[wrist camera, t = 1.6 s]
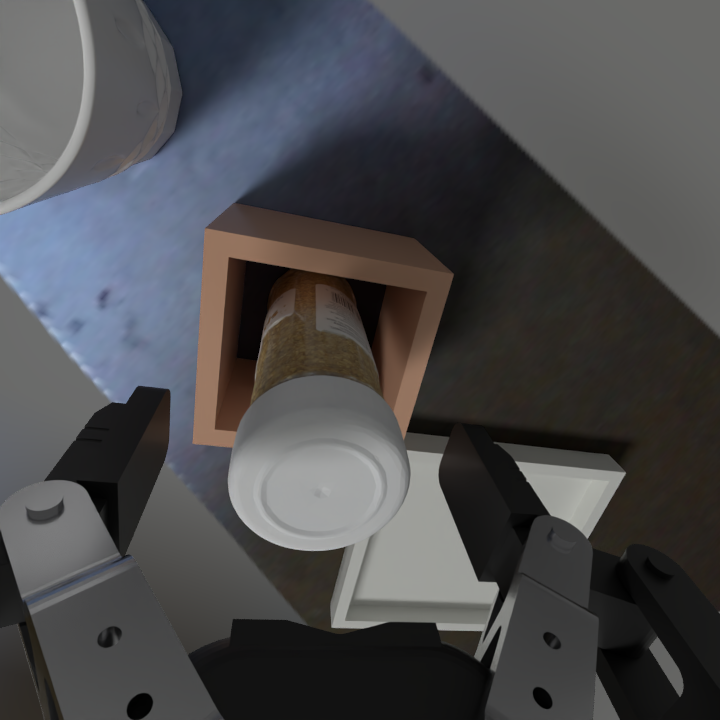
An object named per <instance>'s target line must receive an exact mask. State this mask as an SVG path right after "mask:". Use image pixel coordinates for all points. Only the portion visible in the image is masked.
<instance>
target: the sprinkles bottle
mask: <svg viewBox="0 0 720 720" xmlns="http://www.w3.org/2000/svg"><path fill="white" fill-rule="evenodd" d="M267 311H268V313H267V315H266V319H265V322H264V328H263V334H262V339H261V345H260V350H259V355H258V360H257V365H256V372H255V385H254V388H253V393H252V397H251V404H250V407H249V408H248V410H247V411H246V413H245V414H244V416H243V418H242V419H241V421H240V424H239V427H238V429H237V433H236V437H235V441H234V445H233V449H232V455H231V461H230V466H229V474H228V489H229V495H230V499H231V502H232V504H233V507H234V509H235V510H236V512H237V514H238V515H239V517H240V518H241V519H242V521H243V522H244V523H245V524H246V525H247V526H248V527H249V528H250V529H251V530H252V531H254V532H255V533H256V534H258V535H259V536H260V537H262V538H264V539H266V540H268V541H270V542H272V543H274V544H277V545H280V546H283V547H287V548H291V549H296V550H306V551H324V550H332V549H337V548H342V547H345V546H349V545H352V544H355V543H357V542H360V541H362V540H364V539H366V538H368V537H370V536H371V535H373V534H374V533H376V532H377V531H379V530H380V529H382V528H383V527H384V526H385V525H386V524H387V523H388V522H389V521H390V520H392V518H393V517H394V516H395V515H396V513H397V512H398V511H399V509H400V507H401V506H402V504H403V503H404V500H405V498H406V495H407V492H408V489H409V484H410V476H411V471H410V463H409V458H408V454H407V450H406V446H405V443H404V440H403V436H402V433H401V430H400V427H399V424H398V421H397V418H396V416H395V414H394V412H393V411H392V409H391V408H390V406H389V405H388V404H387V403H386V401H385V400H384V397H383V394H382V391H381V388H380V384H379V375H378V371H377V368H376V364H375V361H374V358H373V355H372V352H371V349H370V346H369V343H368V339H367V336H366V333H365V330H364V327H363V324H362V321H361V318H360V315H359V312H358V310H357V305H356V298H355V296H354V293H353V290H352V289H351V287H350V285H349V283H348V282H347V280H346V279H345V278H344V277H340V276H334V275H328V274H323V273H317V272H311V271H305V270H300V269H294V268H292V269H290V270H289V271H287V272H286V273H285V274H283V275H282V276H281V277H280V278H279V279H277V281H276V282H275V283H274V285H273V287H272V289H271V291H270V293H269V297H268V302H267Z"/></svg>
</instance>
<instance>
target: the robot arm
mask: <svg viewBox="0 0 720 720" xmlns="http://www.w3.org/2000/svg"><path fill="white" fill-rule="evenodd" d="M169 426H170V390H169V389H163V388H154V387H145V386H138V387H137V388H136V389H135V391H134V392H133V394H132V395H131V397H130V398H129V400H128V401H127V403H126V404H122V403H113V402H112V403H111V404H109V405H108V406H106V407H104V408H102V409H101V410H99V411H97V412H96V413H94V415H93V416H92V418H91V419H90V420H89V421H88V423H87V424H86V425H85V428H84V429H82V431H81V432H80V433H79V435H78V436H77V438H76V441H74V442H73V443H72V444H71V446H70V447H69V449H68V450H67V451H66V452H65V454H64V455H63V456H62V458H61V459H60V460H59V462H58V463H57V464H56V466H55V467H54V468H53V470H52V471H51V472H50V474H49V475H48V477H47V478H46V479H45V481H44V482H40V483H36V484H33V485H30V486H28V487H25V488H23V489H21V490H19V491H18V492H16V493H14V494H13V495H12V496H10V497H9V498H8V499H7V500H6V501H5V502H4V503H3V504H2V506H1V507H0V628H2V627H5V626H9V625H13V624H17V625H18V629H19V632H20V636H21V639H22V642H23V646H24V649H25V653H26V656H27V660H28V663H29V667H30V670H31V673H32V677H33V680H34V684H35V687H36V691H37V694H38V697H39V701H40V705H41V708H42V713H43V717H44V720H593V711H594V695H595V677H596V673H597V675H598V677H599V679H600V681H601V683H602V685H603V687H604V688H605V691H606V693H607V695H608V697H609V698H610V700H611V703H612V705H613V706H614V708H615V710H616V712H617V714H618V716H619V718H620V720H720V614H719V612H718V611H717V610H716V609H715V608H714V606H713V605H712V604H711V603H710V602H709V600H708V599H707V598H706V597H705V596H704V594H703V593H702V592H701V591H700V590H699V588H698V587H697V586H696V585H695V583H694V582H693V581H692V580H691V579H690V577H689V576H688V575H687V574H686V573H685V571H684V570H683V569H682V568H681V567H680V566H679V565H678V564H677V563H676V562H674V561H673V560H672V559H671V558H669V557H668V556H666V555H665V554H663V553H661V552H660V551H658V550H656V549H653V548H651V547H648V546H645V545H640V544H634V545H631V546H629V547H628V548H627V549H626V551H625V552H624V554H623V555H622V557H618V556H615V555H611V554H608V553H605V552H602V551H599V550H596V549H593V548H592V546H591V544H590V542H589V541H588V539H587V538H586V537H585V535H584V534H583V533H582V532H581V531H580V530H578V529H577V528H576V527H575V526H573V525H572V524H570V523H568V522H567V521H565V520H563V519H560V518H557V517H554V516H551V515H550V514H549V512H548V511H547V509H546V508H545V506H544V505H543V503H542V502H541V500H540V499H539V497H538V496H537V494H536V492H535V491H534V489H533V488H532V486H531V485H530V483H529V482H527V481H526V480H527V479H526V477H525V476H524V474H523V473H522V471H520V468H519V467H518V465H517V464H516V462H515V461H514V459H513V458H512V456H511V455H510V454H509V453H507V452H506V451H505V450H504V449H503V448H502V447H500V446H499V445H498V444H494V442H493V441H492V439H491V438H490V436H489V434H488V433H487V431H486V430H485V428H484V427H483V426H480V425H471V424H462V423H457V424H455V426H454V427H453V429H452V432H451V434H450V437H449V440H448V443H447V445H446V448H445V451H444V454H443V457H442V459H441V462H440V465H439V473H438V477H439V484H440V487H441V489H442V492H443V494H444V497H445V499H446V502H447V504H448V507H449V509H450V512H451V514H452V517H453V519H454V522H455V524H456V527H457V529H458V532H459V534H460V537H461V539H462V542H463V544H464V547H465V549H466V552H467V554H468V557H469V559H470V562H471V564H472V567H473V569H474V572H475V574H476V577H477V579H478V582H496V583H497V585H498V588H499V589H498V591H497V593H496V595H495V597H494V600H493V603H492V606H491V609H490V612H489V615H488V618H487V621H486V624H485V627H484V630H483V633H482V636H481V639H480V642H479V645H478V648H477V651H476V654H475V656H474V657H473V656H471V655H470V654H468V653H467V652H465V651H463V650H461V649H460V648H458V647H456V646H453V645H451V644H449V643H446V642H444V641H441V640H440V636H439V633H438V629H437V626H436V623H432V622H387V623H383V624H379V625H376V626H372V627H368V628H364V629H361V630H357V631H353V632H350V633H346V634H335V633H331V632H327V631H324V630H320V629H317V628H313V627H309V626H306V625H302V624H298V623H295V622H291V621H288V620H252V619H251V620H250V619H233V623H232V629H231V637H229V638H225V639H222V640H218V641H216V642H213V643H211V644H208V645H205V646H203V647H201V648H199V649H197V650H195V651H194V652H192V653H190V654H189V655H187V653H186V651H185V649H184V648H183V646H182V644H181V642H180V640H179V639H178V637H177V635H176V633H175V631H174V629H173V628H172V626H171V624H170V622H169V620H168V619H167V617H166V615H165V613H164V611H163V609H162V608H161V606H160V604H159V602H158V600H157V598H156V597H155V595H154V593H153V591H152V589H151V587H150V586H149V584H148V582H147V580H146V578H145V576H144V575H143V573H142V571H141V569H140V567H139V566H138V564H137V562H136V561H135V559H134V558H133V557H132V556H131V555H126V556H125V554H126V551H127V549H128V547H129V544H130V542H131V540H132V537H133V535H134V532H135V530H136V528H137V525H138V523H139V520H140V518H141V516H142V513H143V511H144V509H145V506H146V504H147V501H148V499H149V497H150V494H151V492H152V489H153V487H154V485H155V482H156V480H157V477H158V475H159V473H160V470H161V468H162V466H163V463H164V461H165V458H166V454H167V449H168V443H169ZM657 636H658V638H659V639H660V640H661V642H662V644H663V645H664V646H665V648H666V650H667V651H668V653H669V654H670V656H671V657H672V658H673V660H674V662H675V663H676V665H677V666H678V668H679V670H680V672H681V675H682V678H683V684H684V689H683V693H682V695H681V697H679V695H678V694H677V693H676V691H675V689H674V688H673V686H672V684H671V683H670V681H669V680H668V678H667V676H666V675H665V673H664V672H663V670H662V669H661V667H660V665H659V664H658V662H657V661H656V659H655V657H654V656H653V654H652V653H651V651H650V650H649V647H650V645H651V644H652V643H653V641H654V640H655V639H656V638H657Z"/></svg>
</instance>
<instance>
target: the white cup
mask: <svg viewBox="0 0 720 720" xmlns="http://www.w3.org/2000/svg"><path fill="white" fill-rule="evenodd" d="M182 94H183V92H182V87H181V83H180V78H179V73H178V68H177V63H176V58H175V54H174V49H173V47H172V45H171V43H170V42H169V40H168V39H167V37H166V35H165V34H164V32H163V31H162V29H161V27H160V26H159V24H158V23H157V21H156V19H155V18H154V16H153V15H152V13H151V11H150V10H149V8H148V7H147V5H146V4H145V3H144V2H143V0H0V215H2V214H5V213H8V212H11V211H14V210H17V209H20V208H23V207H26V206H28V205H31V204H34V203H37V202H40V201H43V200H46V199H49V198H52V197H55V196H58V195H61V194H64V193H68V192H70V191H73V190H76V189H78V188H81V187H84V186H87V185H91V184H94V183H97V182H100V181H102V180H105V179H107V178H109V177H111V176H114V175H117V174H119V173H121V172H123V171H125V170H126V169H128V168H129V167H131V166H132V165H134V164H137V163H140V162H143V161H146V160H149V159H151V158H152V157H153V156H154V155H155V154H156V153H157V152H158V150H159V149H160V148H161V147H162V146H163V145H164V143H165V142H166V141H167V140H168V139H169V138H170V137H171V135H172V134H173V133H174V131H175V127H176V122H177V117H178V113H179V108H180V103H181V99H182Z"/></svg>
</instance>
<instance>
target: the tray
mask: <svg viewBox="0 0 720 720" xmlns="http://www.w3.org/2000/svg"><path fill="white" fill-rule="evenodd" d="M448 440H449V437H444V436H435V435H426V434H417V433H408V432H406V435H405V438H404V443H405V446H406V450H407V454H408V458H409V463H410V471H411V476H410V484H409V489H408V492H407V495H406V498H405V500H404V503H403V504H402V506H401V507H400V509H399V511H398V512H397V513H396V515H395V516H394V517H393V518H392V520H390V521H389V522H388V523H387V524H386V525H385V526H384V527H383V528H382V529H380V530H379V531H377V532H376V533H374V534H373V535H371V536H370V537H368V538H366V539H364V540H362V541H360V542H357V543H355V544H352V545H349V546H346V548H345V551H344V555H343V559H342V562H341V566H340V570H339V574H338V577H337V581H336V585H335V589H334V592H333V596H332V600H331V603H330V608H331V626H332V628H368V627H372V626H376V625H379V624H383V623H387V622H432V623H436V626H437V629H438V630H460V631H483V630H484V627H485V624H486V621H487V618H488V615H489V612H490V609H491V606H492V603H493V600H494V597H495V595H496V593H497V591H498V589H499V588H498V585H497V583H496V582H478V579H477V577H476V574H475V572H474V569H473V567H472V564H471V562H470V559H469V557H468V554H467V552H466V549H465V547H464V544H463V542H462V539H461V537H460V534H459V532H458V529H457V527H456V524H455V522H454V519H453V517H452V514H451V512H450V509H449V507H448V504H447V502H446V499H445V497H444V494H443V492H442V489H441V487H440V484H439V477H438V473H439V465H440V462H441V459H442V457H443V454H444V451H445V448H446V445H447V443H448ZM494 444H498V445H499V446H500V447H502V448H503V449H504V450H505V451H506V452H507V453H509V454H510V455H511V456H512V458H513V459H514V461H515V462H516V464H517V465H518V467H519V468H520V471H522V473H523V474H524V476H525V477H526V479H527V480H526V481H527V482H529V483H530V485H531V486H532V488H533V489H534V491H535V492H536V494H537V496H538V497H539V499H540V500H541V502H542V503H543V505H544V506H545V508H546V509H547V511H548V512H549V514H550V515H551V516H554V517H557V518H560V519H563V520H565V521H567V522H568V523H570V524H572V525H573V526H575V527H576V528H577V529H578V530H580V531H581V532H582V533H583V534H584V535H585V537H586V538H587V539H588V537H589V535H590V534H591V532H592V530H593V529H594V527H595V525H596V523H597V522H598V520H599V518H600V517H601V515H602V513H603V511H604V510H605V508H606V506H607V505H608V503H609V501H610V499H611V498H612V496H613V494H614V493H615V491H616V489H617V487H618V486H619V484H620V482H621V481H622V479H623V477H624V475H625V474H626V472H625V471H624V470H623V469H622V468H621V467H620V466H619V465H618V464H617V463H616V462H615V461H614V460H613V459H612V458H611V456H610V455H608V454H599V453H590V452H581V451H572V450H562V449H553V448H544V447H535V446H526V445H517V444H508V443H499V442H494Z"/></svg>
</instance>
